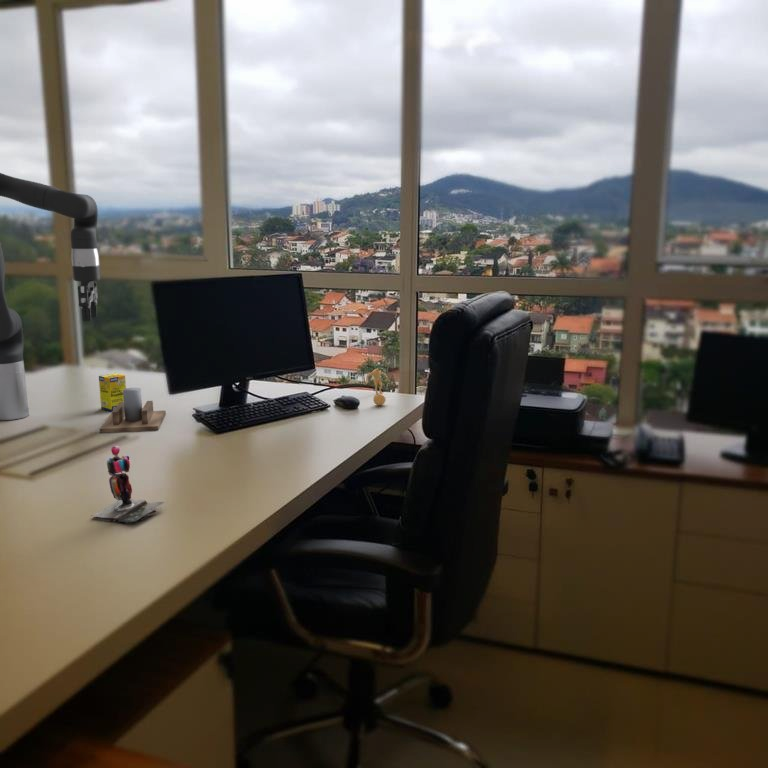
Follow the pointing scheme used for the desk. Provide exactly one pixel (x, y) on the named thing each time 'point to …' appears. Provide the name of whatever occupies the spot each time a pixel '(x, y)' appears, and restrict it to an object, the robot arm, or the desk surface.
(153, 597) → the desk surface
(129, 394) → the grey block
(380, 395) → the figurine
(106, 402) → the supplement box
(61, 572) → the desk surface
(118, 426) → the holder
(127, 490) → the statue
